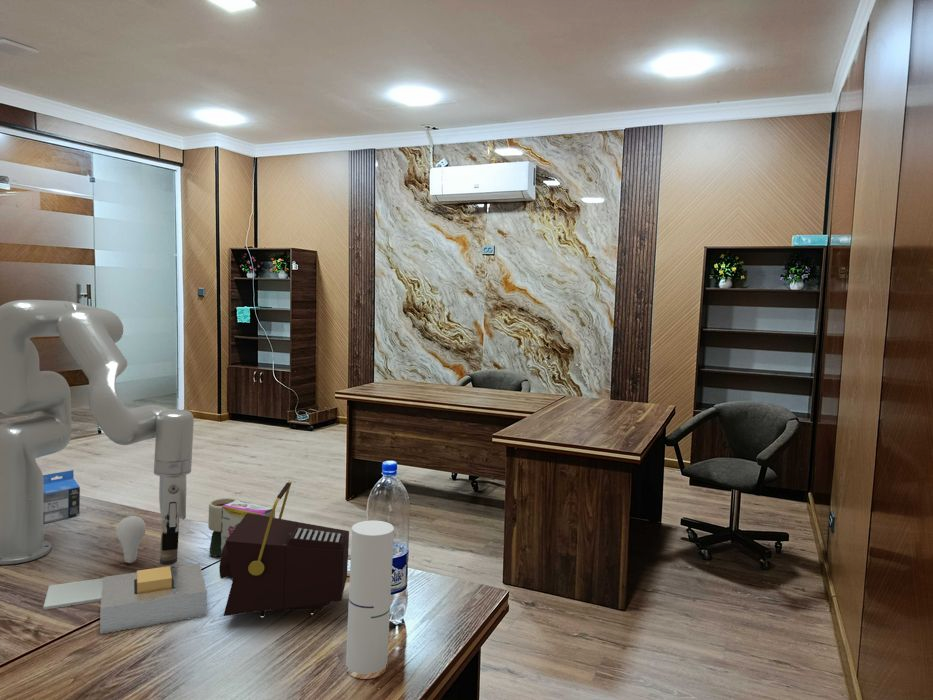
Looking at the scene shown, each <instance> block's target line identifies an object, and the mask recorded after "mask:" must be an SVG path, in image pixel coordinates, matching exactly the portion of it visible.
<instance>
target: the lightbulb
mask: <svg viewBox="0 0 933 700" xmlns="http://www.w3.org/2000/svg"><path fill="white" fill-rule="evenodd" d="M145 523H146V522H145V521H144V520H143V519H142V517H139V516H136V515H130V516H126V517H124V518H122V519H121V520H120V521H119V522H118V524H117V526H116V529H115V535H116V537H117V540H118V541H119V542H120V544H121V546H122V553H123V559H124V562H125V563H128V564H133V563H134V562H135V561H137V559H138V557H137V556H138V552H139V546H140V543H141V541H142V539H143V537H144V535H145V533H146V530H147V525H146V524H145Z"/></svg>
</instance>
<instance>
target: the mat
mask: <svg viewBox="0 0 933 700" xmlns="http://www.w3.org/2000/svg"><path fill="white" fill-rule="evenodd" d="M102 584H103V577H102V578H95V579H87V580H86V579H85V580H80V581H73V582H66V583H59V584H50V585H48V588H47V589H48V590H47V592H46V596H45V600H44V604H43V607H42V609H43V611H44V610H45V611H47V610H52V609H58V608H59V607H60V608H65V607H71V605H73V606H78V605H84V604H85V605H86V604H91V603H98V602H101V596H102ZM60 608H59V609H60Z"/></svg>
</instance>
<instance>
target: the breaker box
mask: <svg viewBox="0 0 933 700" xmlns="http://www.w3.org/2000/svg"><path fill="white" fill-rule="evenodd" d="M170 569H171V575H172V589H168V590H162V591H155V592H149V593H142V594H137V571H136V572H130V573H123V574H114V575H109V576H103V577H102V578H103V584H102V596H101V601H100V608H99V609H100V613H99V615H100V616H99V619H100V620H99V622H100V623H99V635H104V634H103V633H106V634H109V633H108V632H112V633H115V632H114V631H117V632H122V631H121V630H123V631H127V630H126V629H129V630H133V629H139V627H140V628H145V626H146V627H149V626H150V625H151V626H155V625H154V624H157V625H160V624H159V623H162V624H166V623H165V622H168V623H172V622H171V621H174V622H178V621H177V620H179V621H182V620H181V619H185V620H189V619H188V618H191V619H195V618H194V617H196V618H200V617H199V616H202V617H205V616H204V615H206V616H207V593H208V592H207V588H206V584H205V579H204V576H203V572H202V568H201V565H200V563H195V564H188V565H187V564H186V565H180V566H173V567H170ZM132 628H133V629H132ZM119 630H120V631H119Z"/></svg>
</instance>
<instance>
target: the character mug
mask: <svg viewBox="0 0 933 700" xmlns="http://www.w3.org/2000/svg"><path fill="white" fill-rule="evenodd" d="M235 500H238V501H240V499H239V498H234V497H222V498H221V497H220V498H216V499H213V500H210V501H209V503H208V521H207V523H208V529H209V530H210V531H212V534H211V539H210V544H209V555H211V556H213V557H221V525H222V506H223V505H225V504H228V503H230V502H232V501H235Z"/></svg>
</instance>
